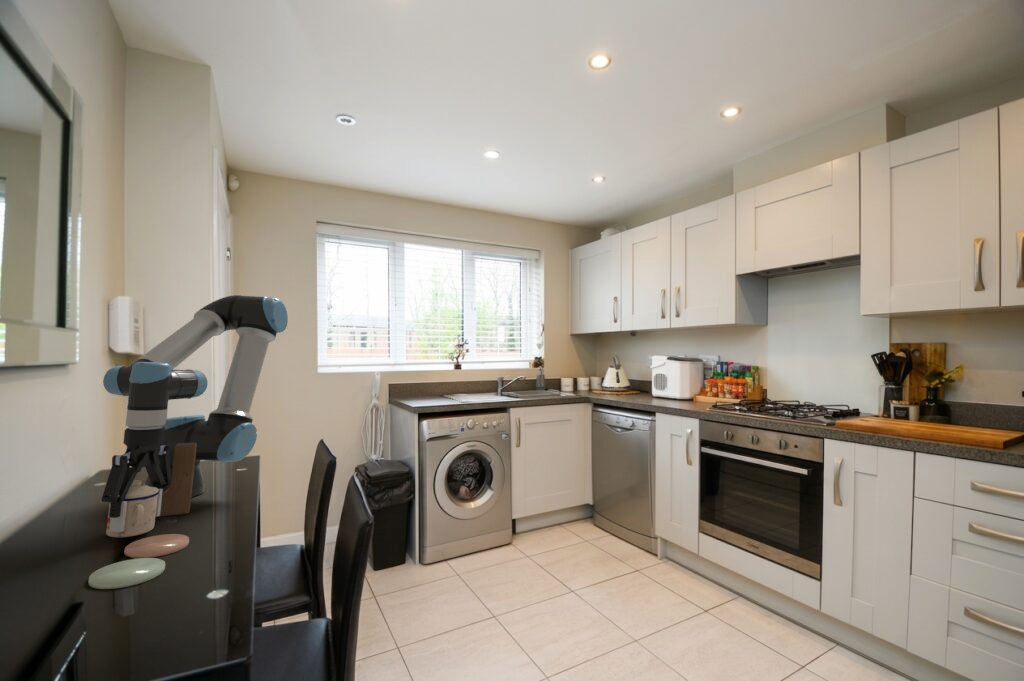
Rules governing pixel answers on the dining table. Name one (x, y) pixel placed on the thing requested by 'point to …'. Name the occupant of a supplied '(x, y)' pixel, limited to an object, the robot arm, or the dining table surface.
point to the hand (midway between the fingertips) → (135, 522)
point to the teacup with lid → (137, 510)
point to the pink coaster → (156, 546)
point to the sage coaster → (126, 573)
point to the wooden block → (180, 481)
